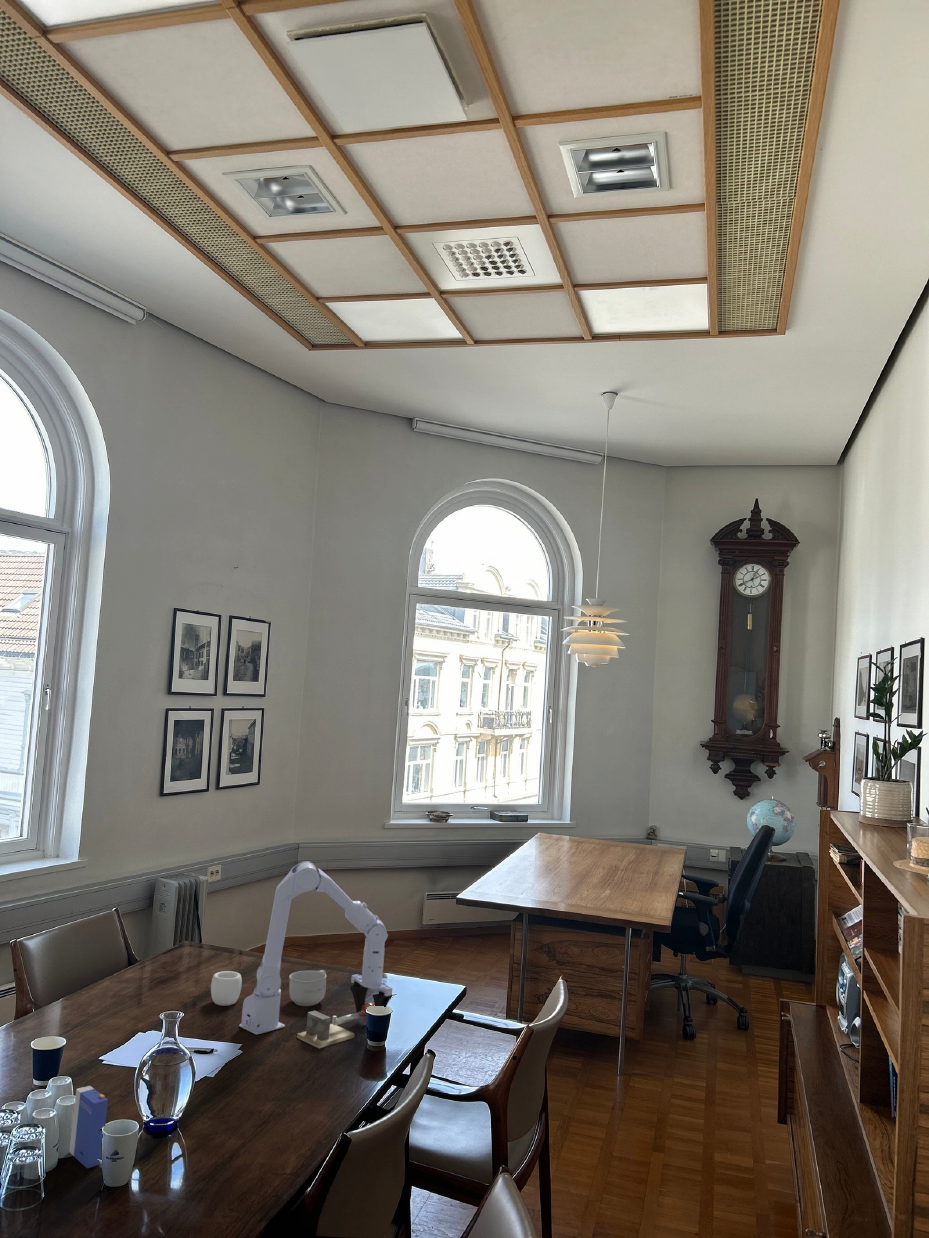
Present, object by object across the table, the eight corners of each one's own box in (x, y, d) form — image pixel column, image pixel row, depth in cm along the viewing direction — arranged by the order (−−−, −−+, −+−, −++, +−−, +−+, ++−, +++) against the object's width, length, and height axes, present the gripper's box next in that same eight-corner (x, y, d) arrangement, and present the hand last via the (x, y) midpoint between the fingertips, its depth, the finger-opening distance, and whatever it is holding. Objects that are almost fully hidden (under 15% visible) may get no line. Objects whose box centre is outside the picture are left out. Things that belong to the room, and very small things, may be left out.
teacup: (304, 1012, 254) (307, 983, 255) (279, 1002, 261) (281, 973, 262) (339, 1001, 265) (342, 973, 266) (314, 991, 272) (316, 964, 273)
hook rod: (338, 1033, 237) (339, 1015, 237) (326, 1028, 240) (328, 1010, 240) (376, 1022, 247) (378, 1004, 248) (365, 1017, 250) (366, 1000, 251)
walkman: (101, 1163, 168) (108, 1097, 169) (87, 1168, 166) (94, 1101, 167) (83, 1147, 174) (90, 1082, 175) (68, 1151, 172) (75, 1086, 173)
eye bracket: (319, 1048, 229) (321, 1022, 230) (297, 1037, 235) (299, 1012, 236) (354, 1037, 238) (356, 1012, 239) (332, 1027, 244) (334, 1003, 245)
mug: (239, 1007, 254) (242, 979, 255) (208, 1008, 252) (211, 979, 253) (240, 993, 266) (242, 966, 266) (210, 993, 264) (213, 966, 264)
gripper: (401, 969, 248) (397, 1019, 247) (366, 956, 257) (362, 1005, 256) (383, 973, 242) (379, 1025, 241) (347, 960, 252) (343, 1010, 251)
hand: (369, 1015), depth 248 cm, fingers open, 7 cm apart
